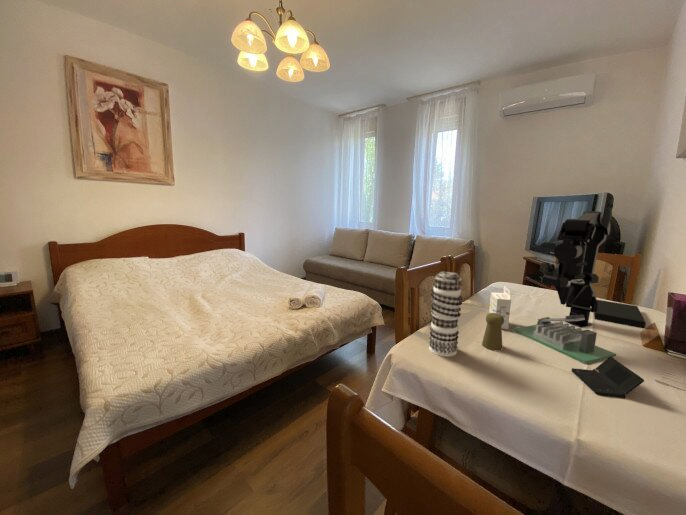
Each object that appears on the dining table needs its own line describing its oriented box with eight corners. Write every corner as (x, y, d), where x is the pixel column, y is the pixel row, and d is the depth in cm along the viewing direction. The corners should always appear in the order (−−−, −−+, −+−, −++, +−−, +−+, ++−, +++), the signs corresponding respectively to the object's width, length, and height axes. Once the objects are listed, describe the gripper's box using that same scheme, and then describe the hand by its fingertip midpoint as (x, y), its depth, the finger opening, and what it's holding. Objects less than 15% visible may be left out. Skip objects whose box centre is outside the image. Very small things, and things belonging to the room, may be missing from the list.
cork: (500, 343, 96) (504, 312, 94) (504, 352, 90) (507, 318, 88) (480, 340, 98) (483, 309, 96) (483, 348, 92) (486, 316, 90)
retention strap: (547, 320, 103) (546, 315, 103) (585, 319, 91) (584, 314, 92) (538, 321, 102) (537, 316, 102) (575, 321, 90) (574, 316, 90)
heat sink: (552, 329, 105) (554, 313, 104) (602, 349, 91) (605, 331, 90) (527, 333, 102) (529, 317, 100) (575, 355, 87) (578, 336, 86)
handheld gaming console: (564, 365, 80) (594, 341, 77) (581, 379, 81) (611, 356, 79) (597, 398, 69) (634, 371, 66) (616, 412, 70) (653, 387, 68)
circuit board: (540, 325, 110) (541, 323, 110) (616, 356, 88) (616, 353, 88) (513, 330, 106) (513, 328, 106) (584, 364, 84) (585, 361, 84)
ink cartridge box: (487, 319, 116) (491, 284, 113) (500, 320, 115) (504, 285, 112) (494, 328, 108) (497, 290, 105) (508, 329, 107) (512, 291, 104)
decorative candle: (421, 346, 94) (425, 271, 90) (443, 341, 98) (448, 269, 93) (441, 359, 86) (447, 278, 81) (464, 353, 89) (471, 275, 85)
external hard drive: (594, 320, 117) (595, 313, 117) (593, 305, 135) (594, 299, 134) (644, 329, 108) (645, 322, 108) (636, 312, 126) (637, 306, 125)
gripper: (567, 252, 104) (561, 294, 107) (528, 255, 98) (523, 299, 101) (603, 258, 94) (595, 303, 96) (562, 261, 88) (555, 310, 91)
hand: (566, 303), depth 96 cm, fingers open, 3 cm apart
